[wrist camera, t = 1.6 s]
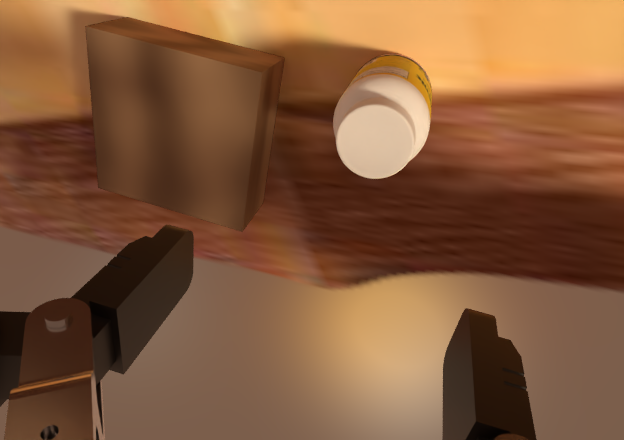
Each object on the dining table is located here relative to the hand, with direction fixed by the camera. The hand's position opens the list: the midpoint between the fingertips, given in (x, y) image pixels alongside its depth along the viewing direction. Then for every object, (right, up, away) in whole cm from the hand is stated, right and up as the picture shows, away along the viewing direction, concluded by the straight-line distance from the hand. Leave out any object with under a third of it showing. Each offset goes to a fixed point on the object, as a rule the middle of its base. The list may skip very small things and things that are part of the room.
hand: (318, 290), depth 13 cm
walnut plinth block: (-9, +10, +23) cm, 27 cm away
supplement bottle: (+5, +11, +18) cm, 22 cm away
